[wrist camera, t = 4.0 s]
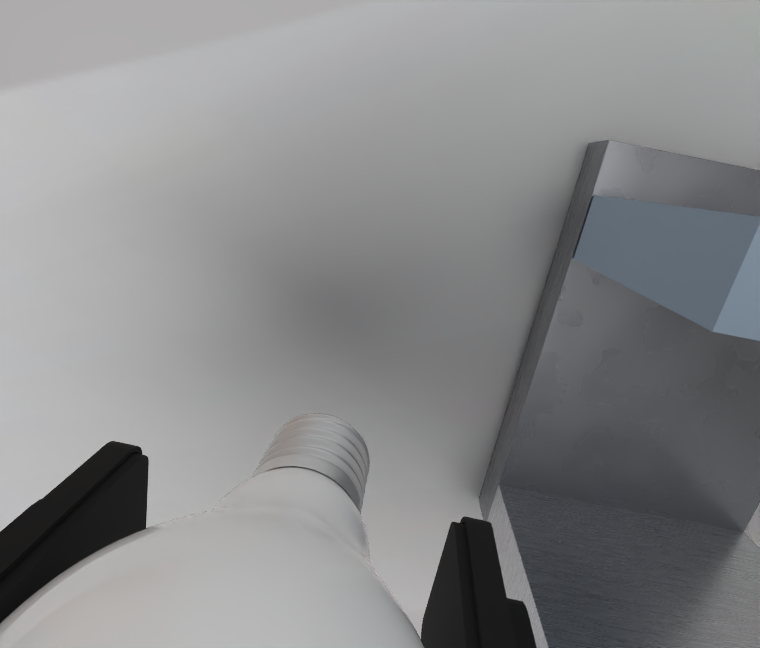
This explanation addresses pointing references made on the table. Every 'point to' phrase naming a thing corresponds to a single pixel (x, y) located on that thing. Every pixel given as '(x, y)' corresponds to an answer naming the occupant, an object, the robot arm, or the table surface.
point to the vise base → (631, 443)
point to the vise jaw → (680, 259)
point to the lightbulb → (237, 566)
